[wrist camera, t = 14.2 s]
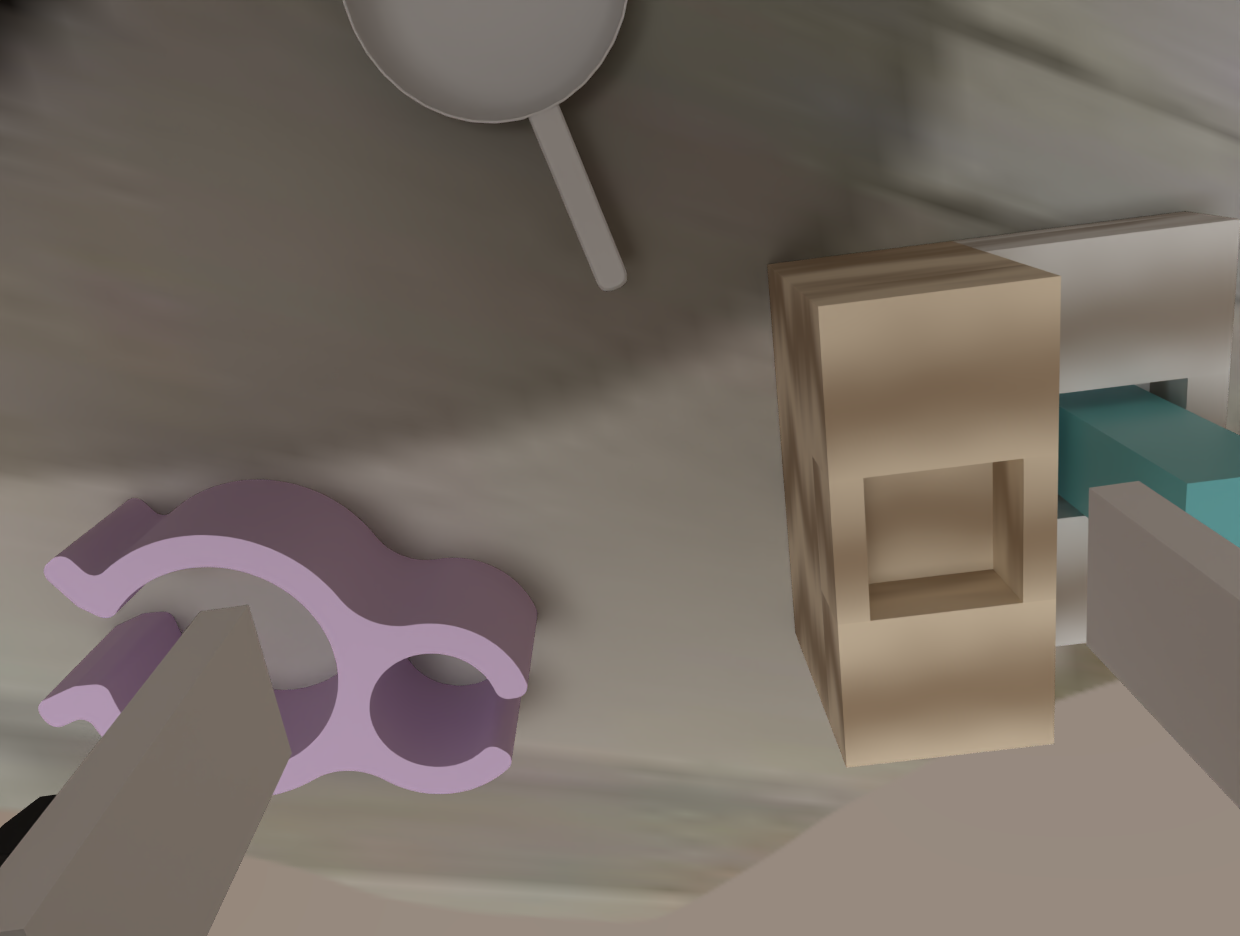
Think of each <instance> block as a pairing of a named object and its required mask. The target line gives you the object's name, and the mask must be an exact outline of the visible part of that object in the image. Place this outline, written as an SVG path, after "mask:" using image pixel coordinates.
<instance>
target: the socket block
mask: <svg viewBox="0 0 1240 936" xmlns="http://www.w3.org/2000/svg"><path fill="white" fill-rule="evenodd" d="M1239 234H1240V219H1236V218H1229V217H1222V216H1215V215H1208V214H1201V213H1193V212H1186V211H1183V212H1175V213H1167V214H1160V215H1152V216H1144V217H1136V218H1128V219H1120V220H1112V221H1105V222H1097V223H1089V224H1081V225H1073V226H1065V227H1057V228H1050V229H1042V230H1034V231H1026V232H1018V233H1010V234H1002V235H995V236H987V237H979V238H971V239H963V240H955V241H947V242H940V243H932V244H924V245H916V246H908V247H900V248H892V249H885V250H877V251H869V252H861V253H853V254H845V255H837V256H830V257H822V258H814V259H806V260H798V261H790V262H782V263H774V264H767V268H768V281H769V294H770V307H771V320H772V333H773V346H774V359H775V372H776V386H777V399H778V412H779V425H780V438H781V451H782V464H783V477H784V490H785V503H786V516H787V529H788V542H789V555H790V568H791V581H792V594H793V607H794V620H795V633H796V636H797V638H798V641H799V644H800V646H801V649H802V652H803V654H804V657H805V659H806V662H807V665H808V667H809V670H810V673H811V675H812V678H813V680H814V683H815V686H816V688H817V691H818V694H819V696H820V699H821V702H822V704H823V707H824V709H825V712H826V715H827V717H828V720H829V723H830V725H831V728H832V731H833V733H834V736H835V738H836V741H837V744H838V746H839V749H840V752H841V754H842V757H843V759H844V762H845V765H846V767H856V766H864V765H873V764H882V763H891V762H899V761H908V760H917V759H926V758H934V757H943V756H951V755H960V754H969V753H978V752H987V751H995V750H1004V749H1013V748H1021V747H1031V746H1039V745H1047V744H1054V706H1055V646H1063V645H1072V644H1080V643H1086V631H1087V575H1088V518H1087V517H1086V516H1085V515H1084V514H1082V513H1081V512H1080V511H1079V510H1077V509H1076V508H1075V507H1074V506H1072V505H1071V504H1070V503H1069V502H1067V501H1066V500H1065V499H1064V498H1062V497H1061V496H1060V495H1059V494H1058V442H1059V394H1061V393H1069V392H1077V391H1085V390H1093V389H1101V388H1110V387H1118V386H1126V385H1136V386H1138V387H1140V388H1142V389H1144V390H1146V391H1148V392H1150V393H1152V394H1155V395H1157V396H1159V397H1161V398H1163V399H1165V400H1167V401H1169V402H1171V403H1173V404H1175V405H1177V406H1179V407H1182V408H1184V409H1186V410H1188V411H1190V412H1192V413H1194V414H1196V415H1198V416H1200V417H1202V418H1204V419H1206V420H1209V421H1211V422H1213V423H1215V424H1217V425H1219V426H1221V427H1223V428H1225V429H1226V419H1227V405H1228V390H1229V376H1230V362H1231V348H1232V333H1233V319H1234V305H1235V291H1236V277H1237V262H1238V248H1239Z"/></svg>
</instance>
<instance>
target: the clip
mask: <svg viewBox="0 0 1240 936" xmlns="http://www.w3.org/2000/svg"><path fill="white" fill-rule="evenodd" d="M196 567H219V568H227V569H233V570H238V571H242V572H246V573H249V574H252V575H255V576H257V577H260V578H262V579H265V580H267V581H269V582H271V583H273V584H275V585H276V586H278V587H280V588H281V589H283V590H285V591H286V592H288V593H289V594H290V595H292V596H293V597H294V598H295V599H297V600H298V601H299V602H300V603H301V604H302V605H303V606H304V607H305V608H306V609H307V610H308V611H309V612H310V613H311V614H312V615H313V616H314V618H315V619H316V620H317V622H318V623H319V624H320V626H321V627H322V629H323V631H324V632H325V634H326V636H327V638H328V640H329V642H330V644H331V647H332V649H333V653H334V656H335V659H336V664H337V671H338V674H337V675H335V676H333V677H332V678H330V679H328V680H326V681H324V682H321V683H319V684H316V685H313V686H310V687H305V688H300V689H293V690H274V694H275V697H276V701H277V704H278V707H279V711H280V714H281V718H282V721H283V725H284V728H285V731H286V735H287V738H288V742H289V745H290V749H291V752H292V754H291V756H290V758H289V760H288V763H287V765H286V767H285V769H284V771H283V773H282V776H281V778H280V780H279V782H278V784H277V786H276V788H275V791H274V793H273V795H276V794H280V793H283V792H286V791H290V790H292V789H295V788H298V787H300V786H302V785H304V784H306V783H308V782H310V781H312V780H314V779H316V778H318V777H320V776H322V775H325V774H328V773H331V772H336V771H360V772H365V773H369V774H372V775H375V776H378V777H380V778H382V779H384V780H386V781H388V782H390V783H392V784H394V785H397V786H399V787H402V788H405V789H408V790H412V791H416V792H422V793H430V794H449V793H457V792H463V791H467V790H470V789H474V788H477V787H479V786H481V785H484V784H486V783H488V782H490V781H492V780H493V779H495V778H496V777H498V776H499V775H501V774H502V773H503V772H504V771H506V770H507V769H508V768H509V767H510V765H511V761H512V755H513V748H514V741H515V734H516V728H517V721H518V714H519V707H520V701H521V696H522V695H524V694H525V692H526V691H527V686H528V679H529V672H530V665H531V657H532V650H533V643H534V636H535V629H536V621H537V610H536V608H535V605H534V603H533V602H532V600H531V598H530V597H529V595H528V594H527V593H526V591H525V590H524V589H523V588H522V587H521V586H520V585H519V584H518V583H517V582H516V581H515V580H514V579H513V578H511V577H510V576H509V575H507V574H506V573H504V572H503V571H501V570H499V569H497V568H495V567H493V566H491V565H489V564H486V563H483V562H480V561H476V560H471V559H465V558H441V559H434V560H418V559H412V558H408V557H405V556H402V555H400V554H398V553H396V552H394V551H392V550H391V549H389V548H388V547H386V546H385V545H384V544H383V543H382V542H381V541H380V540H379V539H378V538H377V537H376V536H375V535H374V534H373V532H372V531H371V530H370V529H369V528H368V527H367V526H366V525H365V524H364V523H363V522H362V521H361V520H360V519H359V518H358V517H357V516H356V515H354V514H353V513H352V512H351V511H350V510H348V509H347V508H345V507H344V506H342V505H341V504H339V503H338V502H336V501H335V500H333V499H331V498H329V497H327V496H325V495H323V494H321V493H319V492H317V491H314V490H311V489H309V488H306V487H303V486H300V485H296V484H292V483H288V482H282V481H275V480H262V479H257V480H241V481H234V482H229V483H224V484H221V485H217V486H214V487H211V488H209V489H206V490H204V491H202V492H200V493H198V494H196V495H194V496H192V497H190V498H189V499H187V500H186V501H184V502H183V503H182V504H180V505H179V506H178V507H176V508H175V509H174V510H173V511H172V512H171V513H169V514H167V515H160V514H158V513H156V512H154V511H153V510H152V509H151V508H150V507H149V506H148V505H147V504H146V503H145V502H144V501H142V500H140V499H137V498H131V499H129V500H127V501H126V502H125V503H124V504H122V505H121V506H120V507H118V508H117V509H116V510H115V511H113V512H112V513H111V514H109V515H108V516H107V517H106V518H104V519H103V520H102V521H100V522H99V523H98V524H97V525H95V526H94V527H93V528H91V529H90V530H89V531H88V532H86V533H85V534H84V535H82V536H81V537H80V538H79V539H77V540H76V541H75V542H73V543H72V544H71V545H70V546H68V547H67V548H66V549H64V550H63V551H62V552H61V553H59V554H58V555H57V556H55V557H54V558H53V559H52V560H50V561H49V562H48V563H47V564H46V566H45V568H44V574H45V577H46V578H47V580H48V581H49V582H50V583H52V584H53V585H54V586H55V587H56V588H57V589H58V590H59V591H61V592H62V593H63V594H64V595H65V596H66V597H67V598H69V599H70V600H71V601H72V602H73V603H74V604H75V605H77V606H78V607H79V608H81V609H83V610H86V611H88V612H90V613H92V614H94V615H96V616H99V617H101V618H109V617H112V616H113V615H115V614H116V613H117V612H118V611H119V610H120V609H121V608H122V607H123V606H124V605H125V604H126V603H127V602H128V601H129V600H130V599H131V598H132V597H133V596H134V595H135V594H136V593H137V592H138V591H139V590H140V589H141V588H142V587H143V586H144V585H145V584H146V583H147V582H149V581H151V580H153V579H155V578H157V577H159V576H162V575H164V574H167V573H170V572H174V571H177V570H182V569H187V568H196ZM181 635H182V633H181V631H180V630H179V628H178V625H177V623H176V621H175V619H174V617H173V616H172V615H171V614H169V613H167V612H153V613H144V614H141V615H139V616H137V617H135V618H133V619H130V620H128V621H126V622H124V623H122V624H120V625H117V626H116V627H115V628H114V629H113V630H112V631H111V632H110V633H109V634H108V635H107V636H106V637H105V638H104V639H103V640H102V641H101V642H100V643H99V644H98V645H97V646H96V647H95V648H94V649H93V650H92V651H91V652H90V653H89V654H88V655H87V656H86V657H85V658H84V659H83V660H82V661H81V662H80V663H79V664H78V665H77V666H76V667H75V668H74V669H73V670H72V671H71V672H70V673H69V674H68V675H67V676H66V677H65V678H64V679H63V680H62V681H61V682H60V683H59V685H58V686H57V687H56V688H55V689H54V690H53V691H52V692H51V693H50V694H49V695H48V696H47V697H46V698H45V699H44V700H43V701H42V702H41V703H40V704H39V707H38V709H39V713H40V715H41V716H42V718H43V719H44V720H45V721H46V722H47V723H48V724H49V725H51V726H54V727H61V726H64V725H66V724H68V723H71V722H73V721H75V720H79V719H82V720H87V721H89V722H90V723H91V724H93V726H94V727H95V728H96V730H97V731H98V732H99V734H100V735H101V736H102V737H103V735H104V734H105V733H106V731H107V730H108V729H109V728H110V726H111V725H112V724H113V722H114V721H115V720H116V719H117V717H118V716H119V715H120V713H121V712H122V711H123V710H124V708H125V707H126V706H127V705H128V703H129V702H130V701H131V699H132V698H133V697H134V696H135V694H136V693H137V692H138V690H139V689H140V688H141V687H142V685H143V684H144V683H145V682H146V680H147V679H148V678H149V676H150V675H151V674H152V673H153V671H154V670H155V669H156V667H157V666H158V665H159V664H160V662H161V661H162V660H163V658H164V657H165V656H166V655H167V653H168V652H169V651H170V650H171V648H172V647H173V646H174V644H175V643H176V642H177V641H178V639H179V638H180V637H181ZM420 654H444V655H449V656H453V657H456V658H459V659H461V660H463V661H465V662H467V663H469V664H471V665H472V666H474V667H475V668H477V669H478V670H479V671H480V672H481V673H482V674H484V675H485V677H486V678H487V679H486V680H484V681H482V682H479V683H476V684H472V685H465V686H454V685H447V684H443V683H439V682H436V681H434V680H432V679H430V678H428V677H426V676H425V675H423V674H422V673H420V672H419V671H418V670H417V669H416V668H415V667H414V666H413V665H412V664H411V662H410V661H409V660H408V657H411V656H414V655H420Z"/></svg>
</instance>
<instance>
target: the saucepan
mask: <svg viewBox="0 0 1240 936" xmlns="http://www.w3.org/2000/svg"><path fill="white" fill-rule="evenodd" d="M627 1H628V0H343V4H344V7H345V10H346V12H347V15H348V18H349V20H350V23H351V26H352V29H353V31H354V32H355V34H356V36H357V38H358V40H359V41H360V43H361V45H362V47H363V49H364V50H365V52H366V54H367V55H368V56H369V58H370V59H371V60H372V61H373V63H374V64H375V65H376V66H377V68H378V69H379V70H380V72H381V73H382V74H383V75H384V76H385V77H386V78H387V79H388V80H389V81H390V82H391V83H393V84H394V85H395V86H396V87H397V88H398V89H399V90H400V91H401V92H402V93H404V94H405V95H407V96H408V97H410V98H412V99H413V100H415V101H416V102H418V103H419V104H421V105H422V106H424V107H426V108H428V109H431V110H433V111H435V112H438V113H440V114H442V115H445V116H447V117H451V118H455V119H460V120H464V121H468V122H475V123H504V122H511V121H518V120H522V119H525V118H529V121H530V123H531V125H532V128H533V130H534V133H535V135H536V137H537V140H538V142H539V145H540V147H541V149H542V152H543V154H544V157H545V159H546V162H547V164H548V166H549V169H550V171H551V174H552V176H553V178H554V181H555V183H556V186H557V188H558V190H559V193H560V195H561V198H562V200H563V203H564V205H565V207H566V210H567V212H568V215H569V217H570V219H571V222H572V224H573V227H574V229H575V232H576V234H577V236H578V239H579V241H580V244H581V246H582V248H583V251H584V253H585V256H586V258H587V260H588V263H589V265H590V268H591V270H592V273H593V275H594V277H595V280H596V282H597V285H598V286H599V287H600V288H601V289H602V290H603V291H613V290H615V289H617V288H620V287H622V286H623V285H624V284H625V283H626V282H627V271H626V269H625V267H624V264H623V262H622V259H621V257H620V254H619V252H618V249H617V247H616V244H615V242H614V239H613V237H612V234H611V232H610V230H609V227H608V225H607V222H606V220H605V217H604V215H603V212H602V210H601V207H600V205H599V202H598V200H597V198H596V195H595V193H594V190H593V188H592V185H591V183H590V180H589V178H588V175H587V173H586V170H585V168H584V165H583V163H582V161H581V158H580V156H579V153H578V151H577V148H576V146H575V143H574V141H573V138H572V136H571V133H570V131H569V128H568V126H567V124H566V121H565V119H564V116H563V114H562V111H561V109H560V106H559V104H560V103H561V102H563V101H565V100H566V99H568V98H569V97H570V96H571V95H572V94H574V93H575V92H576V91H577V90H578V89H580V88H581V87H582V86H583V85H585V83H586V82H587V81H588V80H589V79H590V77H591V76H592V75H593V74H594V73H595V72H596V70H597V69H598V68H599V67H600V66H601V64H602V63H603V61H604V59H605V58H606V56H607V54H608V52H609V51H610V49H611V47H612V46H613V44H614V42H615V40H616V37H617V34H618V32H619V29H620V27H621V24H622V21H623V19H624V15H625V10H626V5H627Z"/></svg>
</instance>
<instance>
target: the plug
mask: <svg viewBox="0 0 1240 936" xmlns="http://www.w3.org/2000/svg"><path fill="white" fill-rule="evenodd" d="M1134 481H1140V482H1141V483H1143V484H1144V485H1146V486H1147V487H1149V488H1150V489H1152V490H1153V491H1155V492H1156V493H1158V494H1159V495H1161V496H1162V497H1164V498H1165V499H1167V500H1168V501H1170V502H1171V503H1173V504H1174V505H1176V506H1177V507H1179V508H1180V509H1182V510H1183V511H1185V512H1186V513H1188V514H1189V515H1191V516H1192V517H1194V518H1195V519H1197V520H1198V521H1200V522H1201V523H1203V524H1204V525H1206V526H1207V527H1209V528H1210V529H1212V530H1213V531H1215V532H1216V533H1218V534H1219V535H1221V536H1222V537H1224V538H1225V539H1227V540H1228V541H1230V542H1231V543H1233V544H1234V545H1236V546H1237V547H1239V548H1240V435H1238V434H1236V433H1234V432H1231V431H1229V430H1227V429H1225V428H1223V427H1221V426H1219V425H1217V424H1215V423H1213V422H1211V421H1209V420H1206V419H1204V418H1202V417H1200V416H1198V415H1196V414H1194V413H1192V412H1190V411H1188V410H1186V409H1184V408H1182V407H1179V406H1177V405H1175V404H1173V403H1171V402H1169V401H1167V400H1165V399H1163V398H1161V397H1159V396H1157V395H1155V394H1152V393H1150V392H1148V391H1146V390H1144V389H1142V388H1140V387H1138V386H1136V385H1126V386H1118V387H1110V388H1101V389H1093V390H1085V391H1077V392H1069V393H1061V394H1059V442H1058V494H1059V495H1060V496H1061V497H1062V498H1064V499H1065V500H1066V501H1067V502H1069V503H1070V504H1071V505H1072V506H1074V507H1075V508H1076V509H1077V510H1079V511H1080V512H1081V513H1082V514H1084V515H1085V516H1086V517H1087V518H1089V488H1091V487H1098V486H1105V485H1112V484H1120V483H1127V482H1134Z"/></svg>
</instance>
